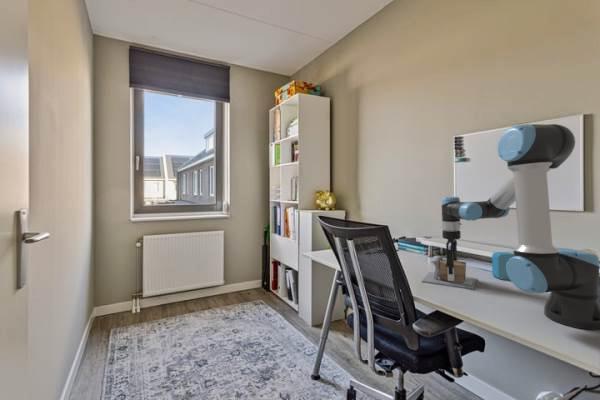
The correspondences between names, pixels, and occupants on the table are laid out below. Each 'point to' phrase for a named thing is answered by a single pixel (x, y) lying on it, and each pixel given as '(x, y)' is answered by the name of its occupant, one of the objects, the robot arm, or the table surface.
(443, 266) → the wooden notched block
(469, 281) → the boss board
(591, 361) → the table surface
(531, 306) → the table surface
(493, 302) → the table surface
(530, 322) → the table surface
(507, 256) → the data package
